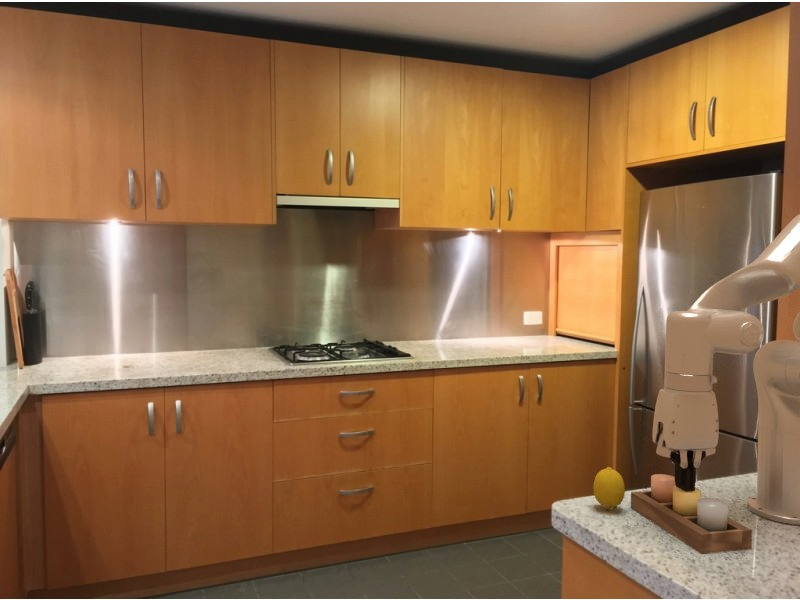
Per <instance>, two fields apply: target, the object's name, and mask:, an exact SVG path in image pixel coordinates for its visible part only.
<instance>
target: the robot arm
mask: <svg viewBox="0 0 800 600" xmlns="http://www.w3.org/2000/svg"><path fill="white" fill-rule="evenodd" d="M799 289H800V213H799V214H798V215H795V217H793V218H792V220H791V221H790V222H788V224H786V226H785V227H784V228H783V229H782V230H781V231H780V233H778V234H777V236H776V237H775V238H774V239H773V240H772V241H771V242H770V244H768V245H767V247H765V249H764V250H763V251H762V252H761V253H760V255H759V256H758V257H757V258H755V260H754V261H752V262H750V263H749V264H747V265H745V266H743V267H741V268H739V269H738V270H736V271H734V272H733V273H731V274H729V275H727V276H726V277H724V278H723V279H720V280H718V281H717V282H715V283H714V284H712V285H711V286H710V287H709V288H707V289H706V290H705V291H703V292H702V293H701V295H700V296H698V297H697V299H696V300H695V301H694V303H692V305H690V306H689V308H688V309H687V310H675V311H671V312H670V313H668V314H667V317H666V320H665V346H664V349H665V350H664V351H665V352H664V377H663V378H664V379H663V380H664V384H663V388H661V389H659V391H658V394H657V397H656V398H657V399H656V402H655V407H654V414H653V421H652V424H653V425H652V442H653V443H654V444H656V445H657V447H656V450H655V452H656V454H657V455H658V456H661V457H664V458H668V459H669V460H670V461H671V463H672V464H673V465H674V477H675V485H676V487H678V488H680V489H682V490H684V491H689V490H690V491H695V488H696V483H697V477H696V476H697V469H698V468H699V467H700V466H701V462H702V460H704V459H705V457H709V456H712V455H715V454H716V447H717V446H718V442H719V435H720V433H719V431H720V430H719V429H720V427H719V425H720V424H719V422H720V421H719V410H718V401H717V397H716V392H714V391H713V384H717V383H718V377H717V376H716V375H714V374H713V371H714V354H715V353H720V354H721V353H722V354H726V355H737V356H738V355H739V356H740V355H746V354H750V353H752V352H753V351H755V350H757V351H756V353H755V355H754V357H753V361H752V363H753V364H752V367H753V369H752V370H753V376H754V380H755V386H756V392H757V399H758V401H757V402H758V403H757V404H758V426H757V427H758V428H757V469H756V470H757V472H756V473H757V478H756V481H757V482H756V495H754V496H751V497H749V498H748V499H747V502H746V503H747V508H748V510H749V511H751V512H752V513H754V514H756V515H757V516H760V517H762V518H763V519H764V518H765V519H767V520H771V521H775V522H779V523H784V524H791V525H800V310H799V312H798V313H797V315H795V317H794V320H793V323H792V332H793V335H794V337H795V338H796V339H797V340H792V339H777V340H772V341H769V342H766V343H765V344H763V345H762V343H763V341H764V338H765V328H764V326H763V323H762V322H761V321H760V319H758V317H756V316H755V315H753V314H752V313H749V312H746V311H744V310H746V309H747V308H750V307H753V306H756V305H759V304H764V303H768V302H772V301H776V300H779V299H782V298H784V297H788V296H791V294H794V293H795V292H797V291H798V290H799Z"/></svg>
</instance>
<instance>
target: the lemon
mask: <svg viewBox="0 0 800 600" xmlns="http://www.w3.org/2000/svg"><path fill="white" fill-rule="evenodd" d="M592 487H593V494H594V495H593V496H594V497H595V499H596V501H597V502H598V503H599V504H600V505H601V506H602V507H605V509H606V510H608V511H611V510H612V509H613V508H616V507H618V506H619V505H620V504H621V503H622V502H623V500H624V497H625V494H626V493H625V492H626V490H625V489H626V488H625V482H624V479H623V476H622V475H621V473H619V472H618V471H617V470H615V469H613V468H612V467H610V466H608V467H606V468H604V469H601V470H600V471H599V472H597V473H596V475H595V478H594V481H593V486H592Z"/></svg>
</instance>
